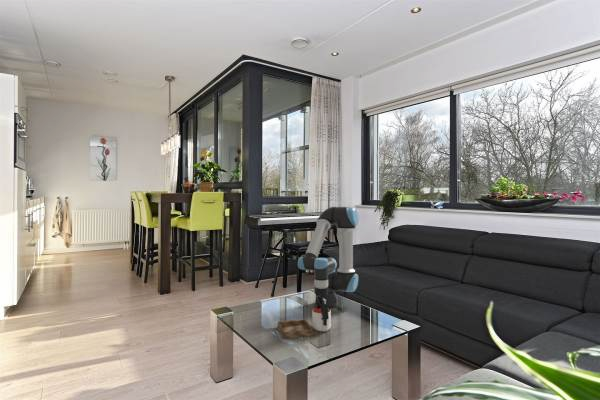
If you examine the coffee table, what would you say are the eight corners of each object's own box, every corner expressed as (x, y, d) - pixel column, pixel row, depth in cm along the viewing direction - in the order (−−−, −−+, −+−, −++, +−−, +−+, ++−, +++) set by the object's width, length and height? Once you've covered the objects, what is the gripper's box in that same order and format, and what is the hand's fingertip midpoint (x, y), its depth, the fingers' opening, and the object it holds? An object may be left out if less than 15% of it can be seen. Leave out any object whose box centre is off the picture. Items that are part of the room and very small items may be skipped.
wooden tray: (305, 324, 200) (305, 319, 200) (313, 335, 184) (313, 330, 184) (277, 327, 196) (277, 321, 196) (283, 338, 181) (282, 333, 181)
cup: (329, 332, 188) (329, 314, 188) (311, 331, 190) (310, 313, 190) (331, 325, 198) (331, 308, 197) (314, 324, 200) (313, 306, 199)
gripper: (309, 282, 203) (309, 320, 204) (320, 293, 181) (321, 336, 182) (321, 281, 205) (322, 319, 206) (334, 292, 183) (334, 334, 184)
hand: (321, 327), depth 194 cm, fingers closed on cup, 10 cm apart
